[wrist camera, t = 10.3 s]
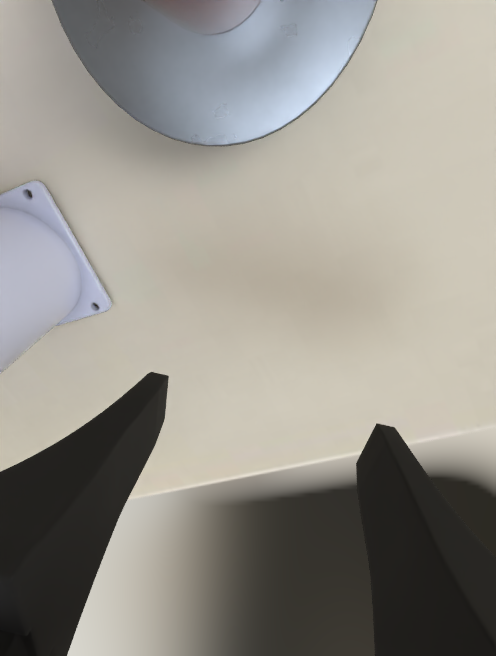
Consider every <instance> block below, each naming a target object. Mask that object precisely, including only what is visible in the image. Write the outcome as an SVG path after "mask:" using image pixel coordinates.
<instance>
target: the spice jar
mask: <svg viewBox="0 0 496 656" xmlns="http://www.w3.org/2000/svg"><path fill="white" fill-rule="evenodd" d="M141 1H142V2H144V3H145V4H147V5H148V6H149V7H151V8H152V9H154V10H155V11H157V12H158V13H160V14H161V15H163V16H164V17H166V18H167V19H168V20H170V21H171V22H173V23H174V24H176V25H177V26H179V27H180V28H182V29H184V30H187V31H189V32H192V33H195V34H202V35H214V34H219V33H223V32H226V31H228V30H231V29H232V28H234V27H236V26H238V25H239V24H240V23H242V22H243V21H244V20H245V19H246V18H247V17H248V16H249V15H250V14H251V13H252V12H253V11H254V9H255V8H256V7H257V5H258V4H259V3H260V1H261V0H141Z"/></svg>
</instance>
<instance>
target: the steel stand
mask: <svg viewBox="0 0 496 656" xmlns="http://www.w3.org/2000/svg"><path fill="white" fill-rule="evenodd" d="M52 3H53V5H54V8H55V10H56V13H57V15H58V18H59V20H60V23H61V25H62V27H63V29H64V31H65V33H66V35H67V37H68V39H69V41H70V43H71V45H72V47H73V49H74V50H75V52H76V54H77V55H78V57H79V58H80V60H81V61H82V63H83V64H84V66H85V68H86V69H87V71H88V72H89V73H90V75H91V76H92V77H93V78H94V80H95V81H96V82H97V83H98V85H99V86H100V87H101V88H102V90H103V91H104V92H105V93H106V94H107V95H108V96H109V97H110V98H111V99H112V100H113V101H114V102H115V103H116V104H117V105H118V106H119V107H120V108H122V109H123V110H124V111H125V112H127V113H128V114H129V115H130V116H132V117H133V118H134V119H135V120H137V121H139V122H140V123H142V124H143V125H145V126H147V127H148V128H150V129H152V130H153V131H155V132H158V133H160V134H162V135H164V136H167V137H169V138H171V139H175V140H178V141H181V142H185V143H188V144H194V145H201V146H231V145H238V144H244V143H248V142H251V141H254V140H257V139H261V138H264V137H266V136H268V135H270V134H272V133H274V132H276V131H278V130H281V129H282V128H284V127H285V126H287V125H288V124H290V123H292V122H293V121H295V120H296V119H298V118H299V117H300V116H301V115H303V114H304V113H305V112H306V111H307V110H309V109H310V108H311V107H312V106H313V105H314V104H316V103H317V102H318V100H319V99H320V98H321V97H322V96H323V95H324V94H325V93H326V92H327V91H328V90H329V88H330V87H331V86H332V85H333V84H334V82H335V81H336V80H337V78H338V77H339V76H340V74H341V73H342V71H343V70H344V69H345V67H346V66H347V64H348V63H349V61H350V59H351V57H352V56H353V54H354V52H355V51H356V49H357V47H358V45H359V44H360V42H361V40H362V37H363V35H364V33H365V31H366V29H367V26H368V24H369V22H370V20H371V17H372V15H373V12H374V9H375V6H376V3H377V0H261V1H260V3H259V4H258V5H257V7H256V8H255V9H254V11H253V12H252V13H251V14H250V15H249V16H248V17H247V18H246V19H245V20H244V21H243V22H242V23H240V24H239V25H238V26H236V27H234V28H232V29H231V30H228V31H226V32H223V33H219V34H214V35H202V34H195V33H192V32H189V31H187V30H184V29H182V28H180V27H179V26H177V25H176V24H174V23H173V22H171V21H170V20H168V19H167V18H166V17H164V16H163V15H161V14H160V13H158V12H157V11H155V10H154V9H152V8H151V7H149V6H148V5H147V4H145V3H144V2H142V1H141V0H52Z"/></svg>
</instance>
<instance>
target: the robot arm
mask: <svg viewBox="0 0 496 656" xmlns="http://www.w3.org/2000/svg"><path fill="white" fill-rule="evenodd" d="M28 190H30V192H31V193H32V197H30V196H29V195H28V192H27V191H28ZM94 303H96V304H97V305H98V306H99V308H97V307H96V306H95V305H94ZM111 306H112V302H111V300H110V298H109V296H108V295H107V293H106V291H105V289H104V288H103V286H102V284H101V282H100V280H99V279H98V277H97V275H96V273H95V272H94V270H93V268H92V266H91V265H90V263H89V261H88V259H87V258H86V256H85V254H84V252H83V251H82V249H81V247H80V245H79V244H78V242H77V240H76V238H75V237H74V235H73V233H72V231H71V230H70V228H69V226H68V224H67V223H66V221H65V219H64V217H63V216H62V214H61V212H60V210H59V209H58V207H57V205H56V203H55V202H54V200H53V198H52V196H51V195H50V193H49V191H48V189H47V188H46V186H45V185H44V184H43V183H42V182H41V181H38V180H35V181H30V182H28V183H26V184H23V185H21V186H19V187H16V188H14V189H12V190H9V191H7V192H5V193H2V194H0V374H1V373H2V372H3V371H4V370H5V369H6V368H8V367H9V366H10V365H11V364H12V363H13V362H14V361H16V360H17V359H18V358H19V357H20V356H21V355H22V354H23V353H25V352H26V351H27V350H28V349H29V348H30V347H31V346H33V345H34V344H35V343H36V342H37V341H38V340H39V339H40V338H42V337H43V336H44V335H45V334H46V333H47V332H48V331H50V330H51V329H52V328H53V327H54V326H57V325H61V324H64V323H68V322H71V321H75V320H78V319H82V318H85V317H88V316H92V315H95V314H99V313H102V312H106V311H108V310H109V309H110V308H111ZM168 377H169V376H167V375H162V374H158V373H154V372H150V373H148V374H147V375H146V376H145V377H144V378H143V379H142V380H141V381H139V382H138V383H137V384H136V385H135V386H134V387H133V388H131V389H130V390H129V391H128V392H127V393H126V394H124V395H123V396H122V397H121V398H120V399H118V400H117V401H116V402H114V403H113V404H112V405H111V406H109V407H108V408H107V409H106V410H104V411H103V412H102V413H100V414H99V415H98V416H96V417H95V418H93V419H92V420H91V421H89V422H88V423H86V424H85V425H84V426H82V427H81V428H79V429H78V430H76V431H75V432H73V433H71V434H70V435H68V436H67V437H65V438H63V439H62V440H60V441H59V442H57V443H55V444H54V445H52V446H50V447H48V448H46V449H45V450H43V451H41V452H39V453H37V454H36V455H34V456H32V457H30V458H28V459H26V460H24V461H22V462H20V463H18V464H16V465H14V466H12V467H10V468H8V469H5V470H3V471H1V472H0V656H67V654H68V651H69V648H70V645H71V642H72V640H73V636H74V634H75V631H76V628H77V625H78V622H79V620H80V617H81V614H82V612H83V609H84V606H85V603H86V601H87V598H88V595H89V593H90V590H91V587H92V585H93V582H94V579H95V577H96V574H97V571H98V569H99V566H100V564H101V561H102V559H103V556H104V553H105V551H106V548H107V546H108V543H109V541H110V538H111V536H112V533H113V531H114V528H115V526H116V523H117V521H118V518H119V516H120V514H121V512H122V509H123V507H124V505H125V503H126V501H127V499H128V497H129V495H130V493H131V491H132V489H133V488H134V486H135V484H136V482H137V480H138V478H139V476H140V474H141V472H142V470H143V468H144V466H145V464H146V462H147V460H148V458H149V456H150V454H151V452H152V450H153V448H154V446H155V444H156V441H157V438H158V436H159V433H160V430H161V428H162V425H163V422H164V419H165V409H166V398H167V388H168ZM356 466H357V493H358V500H359V506H360V513H361V519H362V524H363V531H364V536H365V543H366V549H367V555H368V561H369V568H370V576H371V590H372V604H373V621H374V642H375V656H496V557H495V556H494V555H493V554H492V553H491V552H490V551H489V550H488V549H487V548H486V546H485V545H484V544H483V543H482V542H481V541H480V540H479V538H478V537H477V536H476V535H475V534H474V533H473V532H472V531H471V530H470V529H469V527H468V526H467V525H466V524H465V523H464V522H463V520H462V519H461V518H460V517H459V515H458V514H457V513H456V512H455V510H454V509H453V508H452V507H451V505H450V504H449V503H448V502H447V500H446V499H445V498H444V497H443V495H442V494H441V493H440V491H439V490H438V489H437V488H436V486H435V485H434V483H433V482H432V481H431V479H430V478H429V476H428V475H427V474H426V472H425V471H424V469H423V468H422V466H421V465H420V464H419V462H418V461H417V459H416V458H415V456H414V455H413V453H412V452H411V451H410V449H409V448H408V446H407V445H406V443H405V442H404V440H403V439H402V437H401V436H400V434H399V433H398V432H397V430H396V429H395V427H390V426H386V425H381V424H376V426H375V428H374V430H373V432H372V434H371V436H370V437H369V439H368V441H367V443H366V445H365V447H364V449H363V451H362V453H361V455H360V457H359V459H358V461H357V463H356Z"/></svg>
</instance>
